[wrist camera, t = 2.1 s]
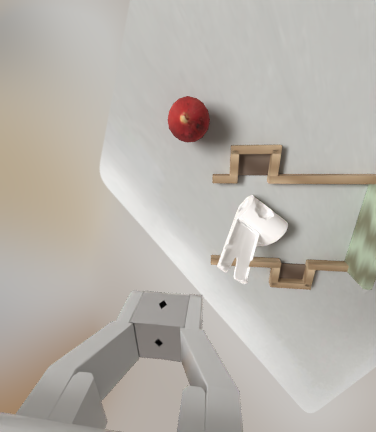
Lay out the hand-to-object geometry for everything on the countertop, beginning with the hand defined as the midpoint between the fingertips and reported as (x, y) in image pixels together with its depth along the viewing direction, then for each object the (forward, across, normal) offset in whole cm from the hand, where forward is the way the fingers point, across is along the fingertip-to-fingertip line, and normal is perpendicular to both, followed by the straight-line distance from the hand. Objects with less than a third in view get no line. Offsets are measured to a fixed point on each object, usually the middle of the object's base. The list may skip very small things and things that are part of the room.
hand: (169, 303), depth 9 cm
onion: (+29, +2, -8) cm, 30 cm away
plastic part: (+30, -8, +10) cm, 32 cm away
